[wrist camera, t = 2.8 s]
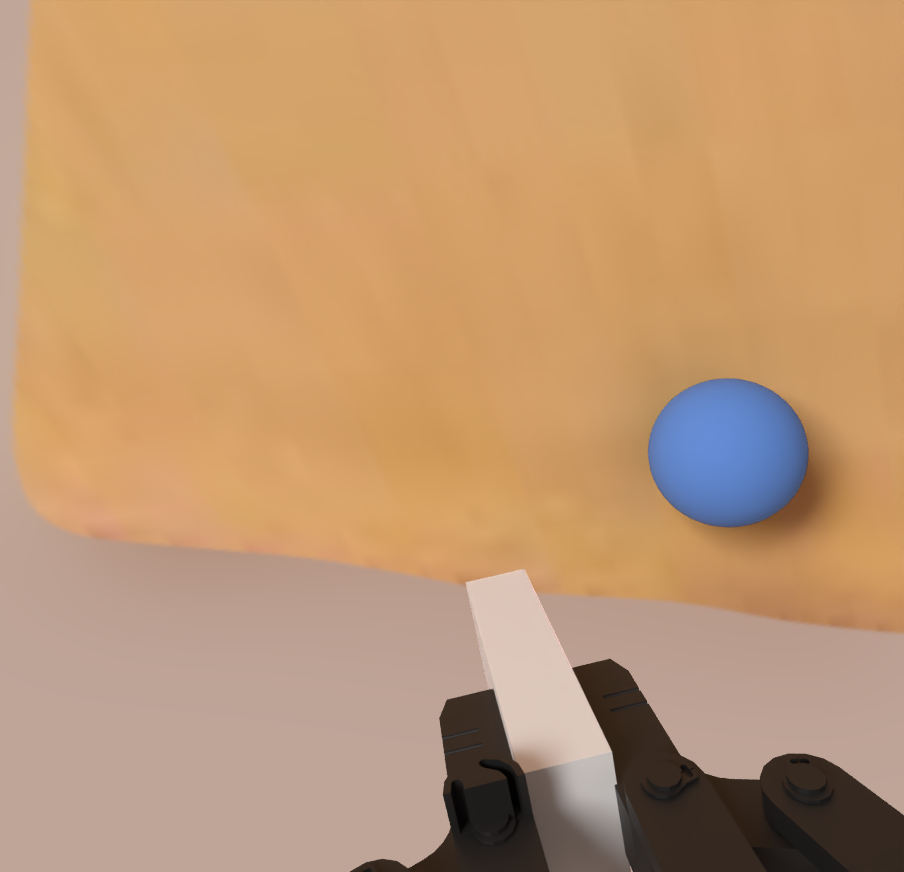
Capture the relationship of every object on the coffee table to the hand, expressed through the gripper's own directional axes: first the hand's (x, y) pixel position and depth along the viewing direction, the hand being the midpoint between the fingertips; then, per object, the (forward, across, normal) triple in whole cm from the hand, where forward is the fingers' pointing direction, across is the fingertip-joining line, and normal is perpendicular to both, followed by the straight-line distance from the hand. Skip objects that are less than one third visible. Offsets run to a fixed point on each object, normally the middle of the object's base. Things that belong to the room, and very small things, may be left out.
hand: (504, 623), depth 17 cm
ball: (+8, -10, 0) cm, 13 cm away
